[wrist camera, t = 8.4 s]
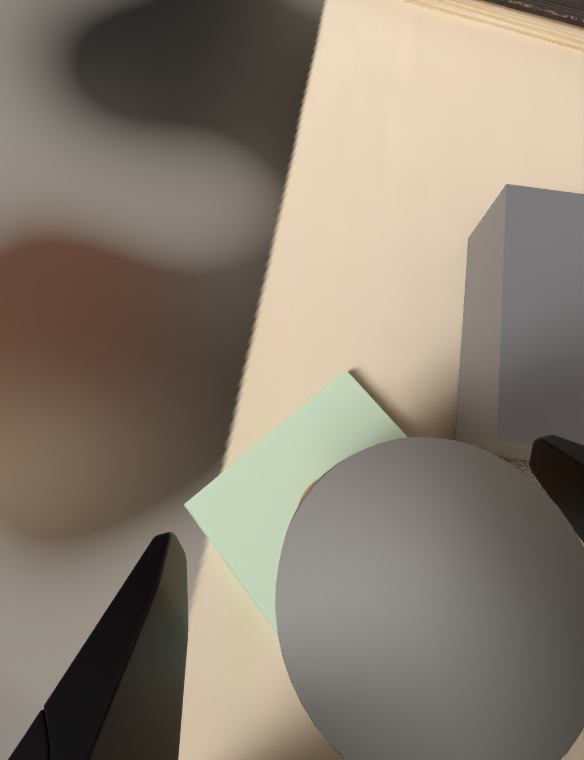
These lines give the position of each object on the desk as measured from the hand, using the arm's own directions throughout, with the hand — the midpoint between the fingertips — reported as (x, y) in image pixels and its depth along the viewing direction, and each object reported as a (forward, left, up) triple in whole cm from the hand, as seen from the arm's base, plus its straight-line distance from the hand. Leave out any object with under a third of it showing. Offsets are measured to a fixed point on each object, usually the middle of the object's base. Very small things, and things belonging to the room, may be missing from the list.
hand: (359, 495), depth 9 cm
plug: (-1, +1, -8) cm, 9 cm away
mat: (-1, +1, -9) cm, 9 cm away
